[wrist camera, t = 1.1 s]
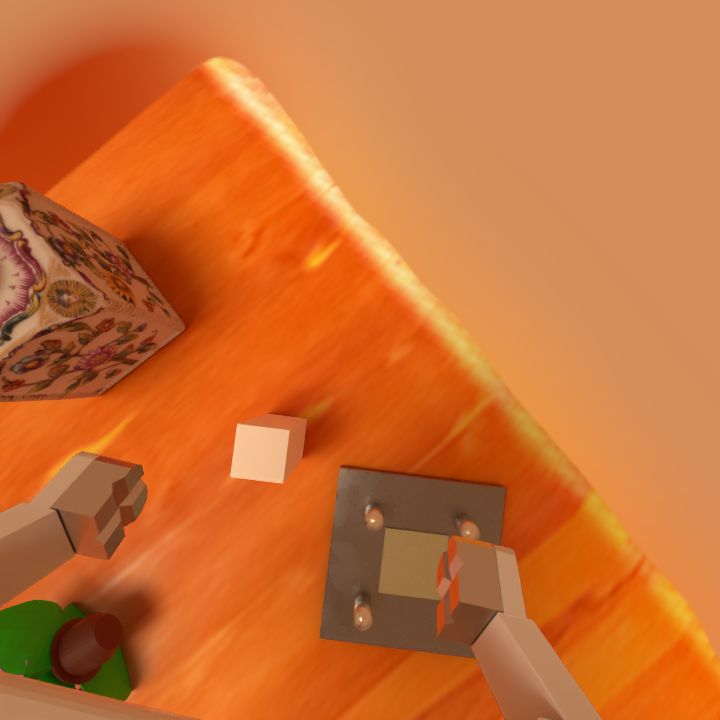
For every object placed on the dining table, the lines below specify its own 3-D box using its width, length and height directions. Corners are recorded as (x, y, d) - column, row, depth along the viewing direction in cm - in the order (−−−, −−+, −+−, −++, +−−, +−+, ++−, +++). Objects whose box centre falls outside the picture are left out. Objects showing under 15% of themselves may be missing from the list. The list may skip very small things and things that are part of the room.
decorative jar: (97, 400, 42) (-102, 414, 24) (30, 309, 42) (-215, 256, 24) (193, 327, 42) (67, 287, 24) (125, 237, 43) (-48, 133, 25)
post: (302, 458, 41) (282, 483, 31) (262, 453, 41) (230, 476, 31) (307, 418, 42) (289, 430, 32) (267, 413, 42) (237, 423, 32)
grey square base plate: (485, 653, 40) (498, 682, 36) (320, 632, 40) (315, 659, 37) (502, 485, 41) (517, 496, 37) (340, 465, 41) (338, 474, 37)
